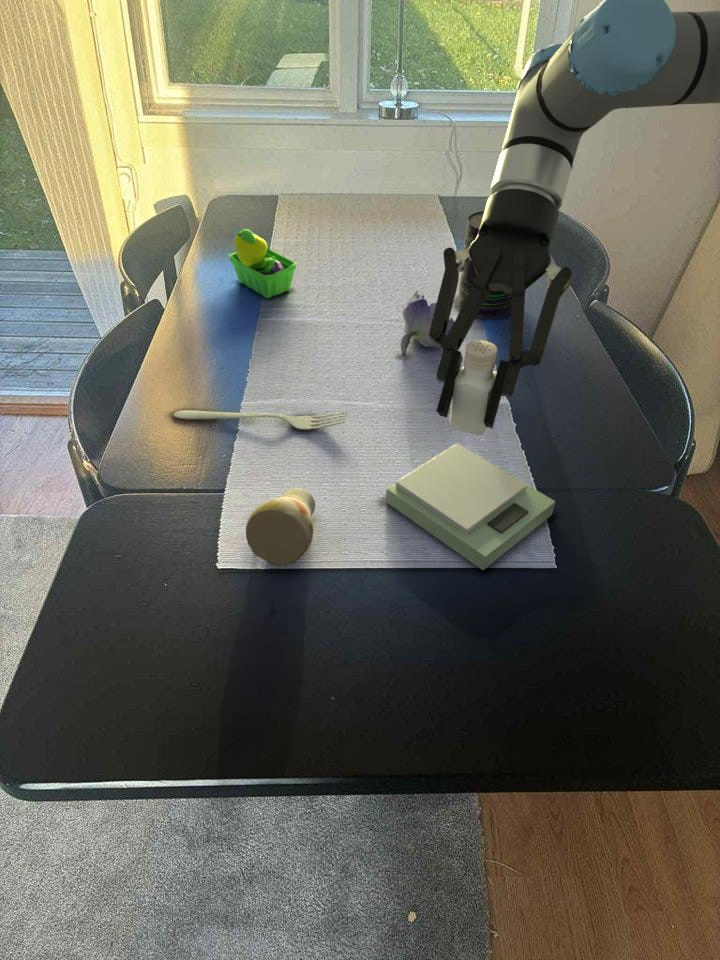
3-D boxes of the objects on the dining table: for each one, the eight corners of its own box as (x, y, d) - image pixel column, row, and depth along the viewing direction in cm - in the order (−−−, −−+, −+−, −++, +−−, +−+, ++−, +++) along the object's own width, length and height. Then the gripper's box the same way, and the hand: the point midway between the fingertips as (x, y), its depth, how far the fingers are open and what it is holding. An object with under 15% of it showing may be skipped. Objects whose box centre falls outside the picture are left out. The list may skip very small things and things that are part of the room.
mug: (331, 509, 84) (335, 482, 74) (297, 583, 80) (297, 565, 71) (274, 485, 84) (271, 455, 74) (238, 558, 81) (230, 536, 71)
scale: (552, 515, 83) (557, 496, 81) (482, 570, 76) (486, 551, 74) (455, 456, 91) (458, 438, 89) (385, 502, 84) (386, 483, 82)
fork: (177, 408, 99) (175, 397, 97) (348, 420, 97) (348, 409, 96) (170, 421, 96) (168, 410, 95) (345, 433, 95) (345, 423, 93)
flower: (423, 332, 103) (441, 279, 106) (376, 339, 108) (395, 288, 112) (451, 369, 109) (467, 318, 113) (406, 373, 114) (422, 324, 118)
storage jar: (486, 324, 119) (499, 237, 109) (445, 303, 124) (454, 219, 115) (524, 307, 123) (540, 223, 114) (484, 288, 129) (495, 206, 119)
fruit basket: (300, 290, 127) (297, 229, 120) (260, 305, 123) (255, 242, 115) (263, 270, 134) (258, 210, 126) (224, 283, 129) (216, 222, 122)
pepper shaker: (446, 428, 76) (455, 352, 70) (459, 409, 79) (469, 334, 72) (482, 439, 75) (494, 362, 68) (493, 419, 77) (506, 343, 71)
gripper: (605, 233, 74) (548, 445, 73) (448, 209, 79) (392, 408, 78) (612, 198, 67) (549, 432, 66) (439, 173, 71) (377, 393, 70)
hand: (464, 419), depth 72 cm, fingers closed on pepper shaker, 4 cm apart
